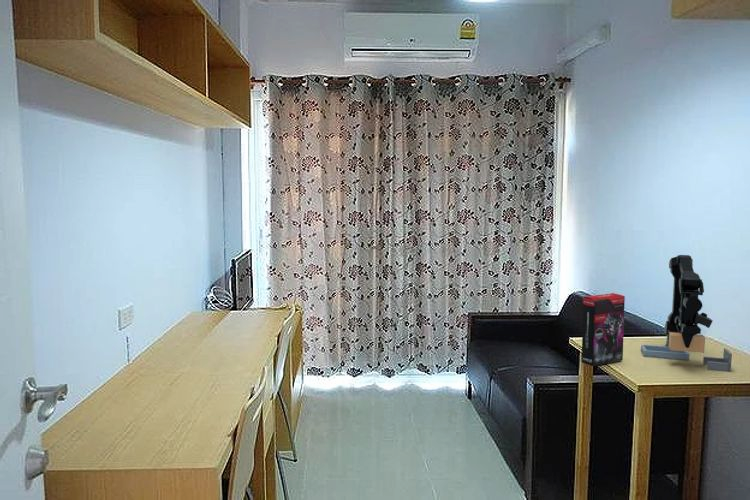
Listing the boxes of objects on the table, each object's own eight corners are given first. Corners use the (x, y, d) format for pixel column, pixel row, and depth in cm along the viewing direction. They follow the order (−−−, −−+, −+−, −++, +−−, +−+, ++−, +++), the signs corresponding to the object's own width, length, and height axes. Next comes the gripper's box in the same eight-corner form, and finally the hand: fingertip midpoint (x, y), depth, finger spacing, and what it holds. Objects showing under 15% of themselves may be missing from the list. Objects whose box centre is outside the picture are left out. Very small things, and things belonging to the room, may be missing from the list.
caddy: (670, 350, 240) (671, 335, 239) (668, 346, 244) (669, 332, 244) (704, 352, 236) (705, 337, 235) (701, 349, 241) (702, 334, 240)
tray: (643, 356, 252) (644, 350, 251) (640, 350, 261) (641, 344, 261) (689, 360, 247) (689, 354, 246) (684, 353, 256) (684, 348, 256)
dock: (707, 369, 235) (708, 352, 234) (702, 363, 243) (704, 346, 242) (730, 371, 233) (731, 353, 232) (725, 365, 240) (726, 348, 239)
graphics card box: (592, 367, 237) (596, 299, 233) (579, 362, 243) (582, 295, 239) (623, 361, 244) (626, 295, 241) (609, 357, 251) (612, 292, 247)
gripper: (717, 313, 227) (714, 354, 229) (705, 304, 245) (703, 341, 247) (684, 311, 230) (681, 351, 232) (675, 302, 248) (673, 339, 250)
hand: (685, 345), depth 240 cm, fingers closed on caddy, 5 cm apart
